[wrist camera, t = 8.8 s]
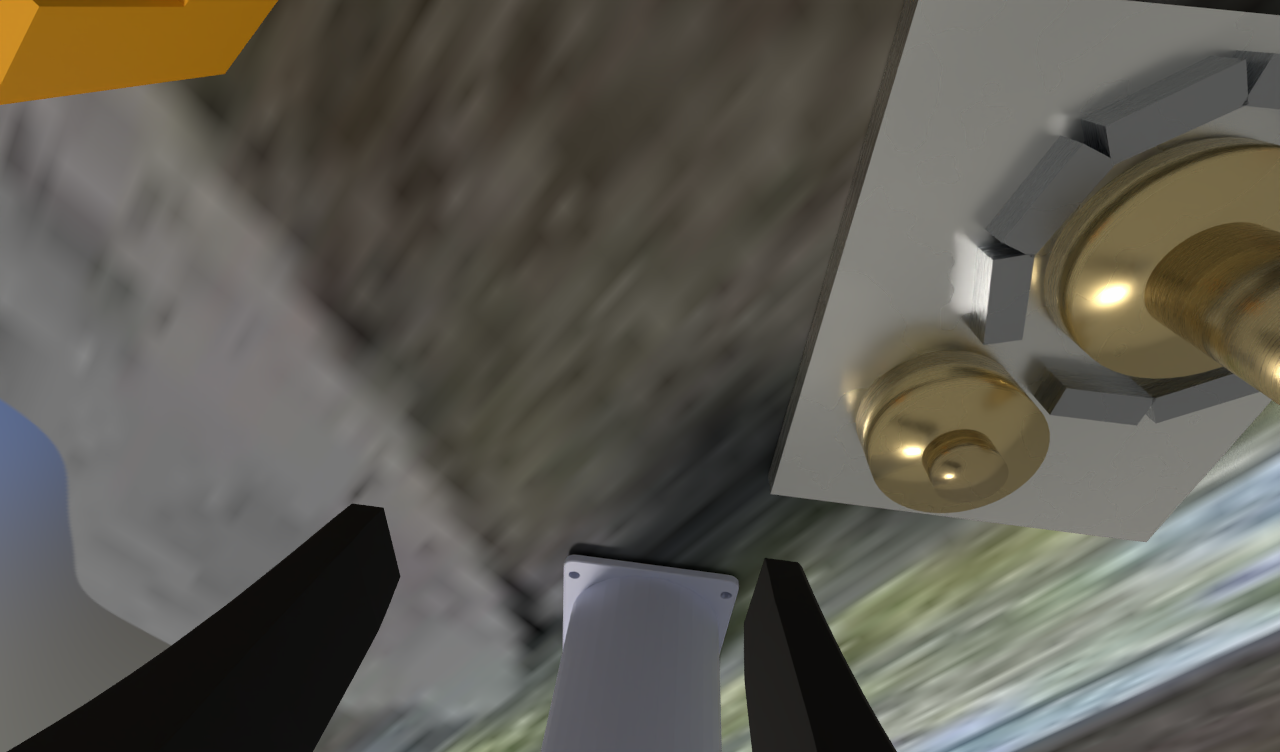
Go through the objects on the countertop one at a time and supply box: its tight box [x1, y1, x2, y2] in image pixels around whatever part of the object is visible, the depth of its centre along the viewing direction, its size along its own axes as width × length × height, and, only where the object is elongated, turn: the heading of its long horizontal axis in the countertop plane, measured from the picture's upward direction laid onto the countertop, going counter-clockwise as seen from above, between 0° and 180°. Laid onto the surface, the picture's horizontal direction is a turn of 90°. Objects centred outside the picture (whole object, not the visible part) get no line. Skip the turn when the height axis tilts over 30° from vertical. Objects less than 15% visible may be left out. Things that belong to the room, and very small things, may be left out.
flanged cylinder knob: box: [1044, 137, 1280, 405], centre depth 13 cm, size 6×6×6 cm
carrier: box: [768, 0, 1280, 542], centre depth 16 cm, size 16×14×4 cm
